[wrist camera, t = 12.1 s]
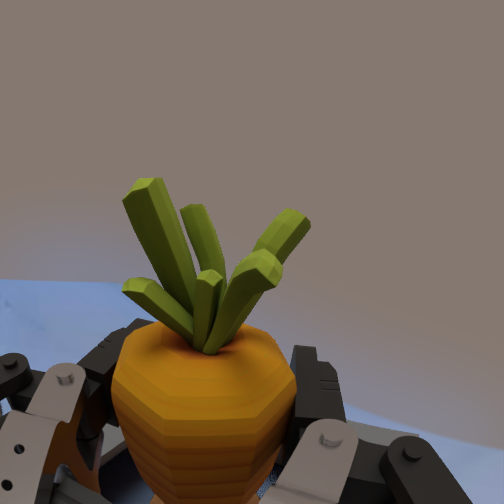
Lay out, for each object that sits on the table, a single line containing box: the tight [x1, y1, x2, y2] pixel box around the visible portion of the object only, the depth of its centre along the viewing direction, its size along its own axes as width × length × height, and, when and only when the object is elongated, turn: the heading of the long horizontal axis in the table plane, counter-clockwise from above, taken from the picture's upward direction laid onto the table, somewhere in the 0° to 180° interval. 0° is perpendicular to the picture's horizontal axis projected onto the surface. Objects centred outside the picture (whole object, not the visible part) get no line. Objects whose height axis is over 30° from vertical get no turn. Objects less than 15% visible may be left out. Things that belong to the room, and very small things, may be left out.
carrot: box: [111, 178, 311, 504], centre depth 8 cm, size 5×5×15 cm
